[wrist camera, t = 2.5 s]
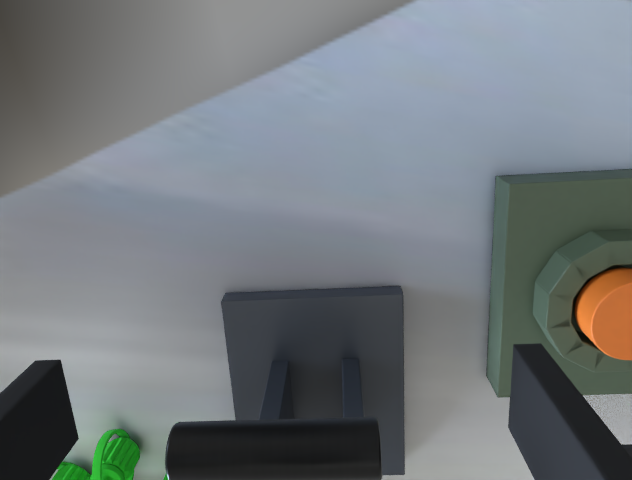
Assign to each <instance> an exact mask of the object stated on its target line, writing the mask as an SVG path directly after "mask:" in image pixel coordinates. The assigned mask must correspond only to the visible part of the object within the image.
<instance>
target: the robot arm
mask: <svg viewBox="0 0 632 480" xmlns="http://www.w3.org/2000/svg"><path fill="white" fill-rule="evenodd" d="M508 428H509V430H510V432H511V434H512V436H513V438H514V439H515V441H516V443H517V445H518V447H519V449H520V451H521V453H522V455H523V457H524V459H525V461H526V463H527V465H528V467H529V469H530V471H531V473H532V475H533V477H534V479H535V480H632V445H621V444H620V442H619V441H618V440H617V439H616V437H615V436H614V435H613V434H612V432H611V431H610V430H609V429H608V427H607V426H606V425H605V424H604V422H603V421H602V420H601V418H600V417H599V416H598V415H597V413H596V412H595V411H594V410H593V408H592V407H591V406H590V405H589V403H588V402H587V401H586V400H585V398H584V397H583V396H582V394H581V393H580V392H579V391H578V389H577V388H576V387H575V386H574V384H573V383H572V382H571V381H570V379H569V378H568V377H567V375H566V374H565V373H564V372H563V370H562V369H561V368H560V367H559V365H558V364H557V363H556V362H555V360H554V359H553V358H552V357H551V355H550V354H549V353H548V351H547V350H546V349H545V348H544V346H543V345H542V344H541V343H535V344H513V358H512V375H511V391H510V408H509V424H508ZM78 439H79V438H78V434H77V429H76V425H75V421H74V416H73V412H72V408H71V403H70V399H69V394H68V390H67V386H66V381H65V377H64V373H63V368H62V364H61V360H41V361H34V362H33V363H32V364H31V365H30V366H29V367H28V368H27V369H26V370H25V371H24V372H23V373H22V374H21V375H19V376H18V377H17V378H16V379H15V380H14V381H13V382H12V383H11V384H10V385H9V386H8V387H7V388H5V389H4V390H3V391H2V392H1V393H0V480H49V479H50V478H51V476H52V475H53V473H54V472H55V471H56V469H57V468H58V467H59V465H60V464H61V462H62V461H63V460H64V458H65V457H66V455H67V454H68V453H69V451H70V450H71V448H72V447H73V446H74V444H75V443H76V441H77V440H78Z"/></svg>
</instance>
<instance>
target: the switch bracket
mask: <svg viewBox="0 0 632 480" xmlns="http://www.w3.org/2000/svg"><path fill="white" fill-rule="evenodd" d="M221 305H222V313H223V321H224V329H225V337H226V345H227V353H228V362H229V370H230V378H231V386H232V394H233V402H234V410H235V418H236V420H271V419H308V418H344V417H376V418H377V419H378V422H379V429H380V439H381V454H382V475H404V474H405V456H404V335H403V293H402V289H401V286H389V287H364V288H339V289H314V290H289V291H265V292H240V293H225V295H224V297H223V299H222V301H221Z"/></svg>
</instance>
